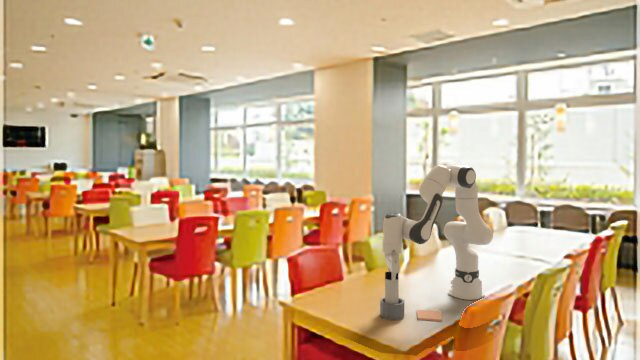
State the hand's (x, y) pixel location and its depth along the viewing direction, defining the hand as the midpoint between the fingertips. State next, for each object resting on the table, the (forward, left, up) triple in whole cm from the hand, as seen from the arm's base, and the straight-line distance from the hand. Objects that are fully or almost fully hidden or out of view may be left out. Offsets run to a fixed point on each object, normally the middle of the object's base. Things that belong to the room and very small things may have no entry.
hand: (392, 277), depth 213 cm
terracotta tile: (-2, +17, -18) cm, 25 cm away
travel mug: (0, 0, -17) cm, 17 cm away
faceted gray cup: (0, 0, -18) cm, 18 cm away
